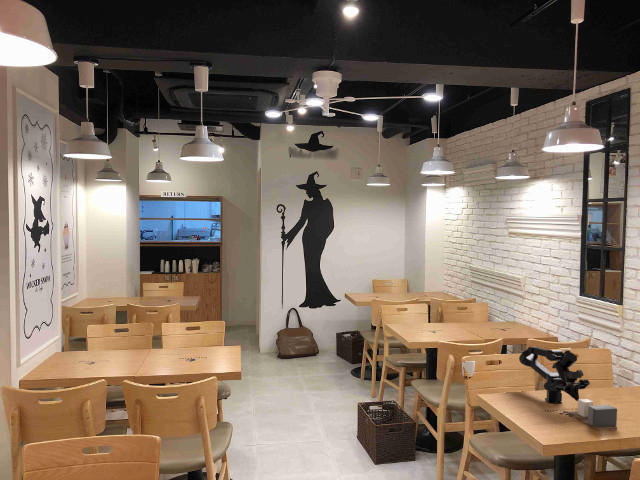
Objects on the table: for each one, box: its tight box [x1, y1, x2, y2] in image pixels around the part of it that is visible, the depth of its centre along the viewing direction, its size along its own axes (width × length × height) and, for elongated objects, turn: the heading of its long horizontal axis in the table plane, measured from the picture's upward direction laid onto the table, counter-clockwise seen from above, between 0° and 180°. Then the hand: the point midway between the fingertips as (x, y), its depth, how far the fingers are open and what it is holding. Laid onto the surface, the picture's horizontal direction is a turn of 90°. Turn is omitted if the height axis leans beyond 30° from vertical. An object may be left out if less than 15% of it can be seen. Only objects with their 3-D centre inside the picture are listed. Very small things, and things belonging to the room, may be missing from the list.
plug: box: [577, 398, 594, 417], centre depth 244 cm, size 6×5×7 cm
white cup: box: [461, 360, 476, 377], centre depth 310 cm, size 8×8×10 cm
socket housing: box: [588, 404, 618, 427], centre depth 235 cm, size 5×11×8 cm, turn 102°
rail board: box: [566, 410, 618, 431], centre depth 241 cm, size 20×10×1 cm, turn 12°
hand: (578, 400), depth 250 cm, fingers closed
